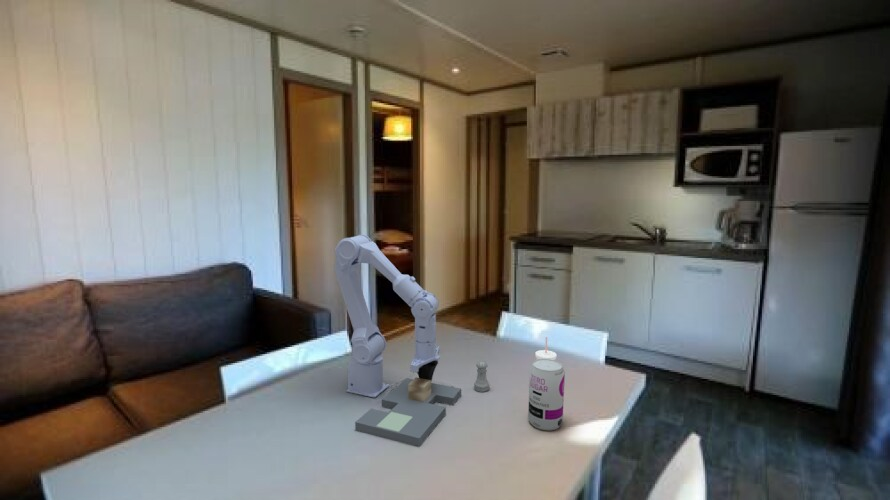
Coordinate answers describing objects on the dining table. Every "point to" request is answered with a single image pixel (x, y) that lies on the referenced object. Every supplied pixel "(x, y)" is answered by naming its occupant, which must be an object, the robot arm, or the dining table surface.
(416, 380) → the oak block
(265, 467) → the dining table surface
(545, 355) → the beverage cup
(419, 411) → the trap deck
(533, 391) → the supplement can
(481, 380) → the rook chess piece
